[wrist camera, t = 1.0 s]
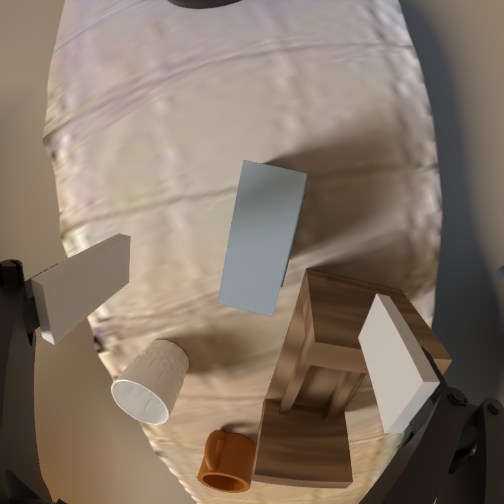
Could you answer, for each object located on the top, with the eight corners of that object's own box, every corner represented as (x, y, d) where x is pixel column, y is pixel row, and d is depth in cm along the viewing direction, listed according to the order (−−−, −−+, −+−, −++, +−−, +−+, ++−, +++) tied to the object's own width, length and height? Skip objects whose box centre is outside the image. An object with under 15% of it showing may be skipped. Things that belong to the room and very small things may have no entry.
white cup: (183, 334, 36) (153, 382, 26) (200, 378, 38) (178, 428, 28) (136, 335, 37) (100, 377, 27) (154, 376, 39) (127, 420, 30)
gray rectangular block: (262, 163, 28) (243, 160, 17) (302, 172, 28) (311, 174, 16) (244, 254, 31) (217, 303, 20) (281, 262, 31) (276, 317, 20)
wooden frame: (306, 268, 31) (314, 341, 17) (400, 289, 30) (452, 360, 17) (263, 402, 37) (250, 480, 24) (338, 413, 37) (345, 488, 23)
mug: (250, 422, 39) (243, 466, 31) (259, 456, 43) (254, 494, 34) (198, 420, 41) (184, 460, 32) (214, 454, 44) (205, 490, 36)
